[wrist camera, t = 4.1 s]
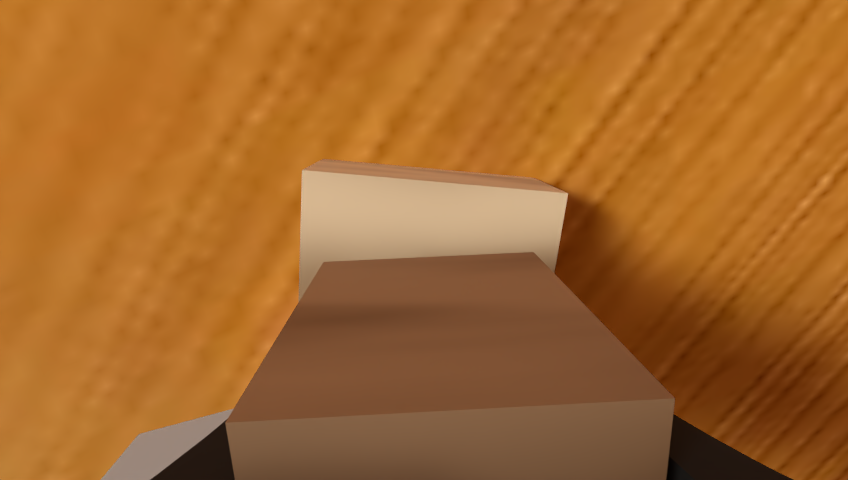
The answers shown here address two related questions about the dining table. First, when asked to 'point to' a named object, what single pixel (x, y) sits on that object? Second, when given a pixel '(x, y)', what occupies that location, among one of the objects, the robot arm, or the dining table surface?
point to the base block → (422, 214)
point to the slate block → (162, 448)
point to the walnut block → (448, 381)
